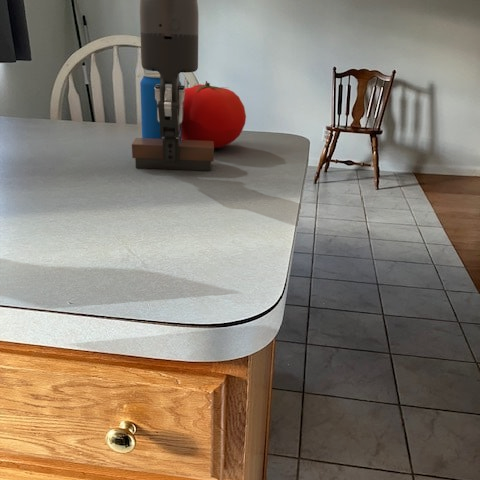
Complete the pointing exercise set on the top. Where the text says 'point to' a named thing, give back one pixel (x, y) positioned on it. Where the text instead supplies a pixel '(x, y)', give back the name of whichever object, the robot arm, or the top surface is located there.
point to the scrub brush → (190, 154)
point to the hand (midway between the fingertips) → (171, 165)
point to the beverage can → (150, 106)
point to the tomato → (212, 115)
